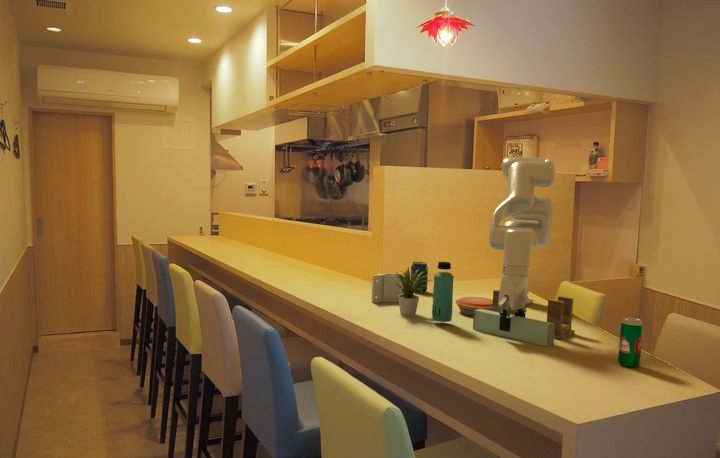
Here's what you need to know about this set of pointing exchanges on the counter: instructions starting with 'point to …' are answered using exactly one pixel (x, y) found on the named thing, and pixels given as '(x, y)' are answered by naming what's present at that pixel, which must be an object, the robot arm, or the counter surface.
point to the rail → (515, 327)
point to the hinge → (386, 288)
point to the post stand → (551, 314)
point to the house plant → (409, 292)
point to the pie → (474, 304)
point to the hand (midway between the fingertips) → (512, 327)
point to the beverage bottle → (443, 294)
